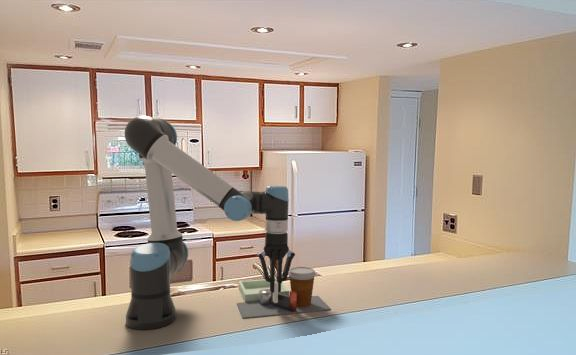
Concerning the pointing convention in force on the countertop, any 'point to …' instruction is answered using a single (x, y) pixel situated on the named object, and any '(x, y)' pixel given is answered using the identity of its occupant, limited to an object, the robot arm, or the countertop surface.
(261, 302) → the hub
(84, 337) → the countertop surface
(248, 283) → the tray
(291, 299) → the crank
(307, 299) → the disposable coffee cup
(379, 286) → the countertop surface
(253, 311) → the mat
